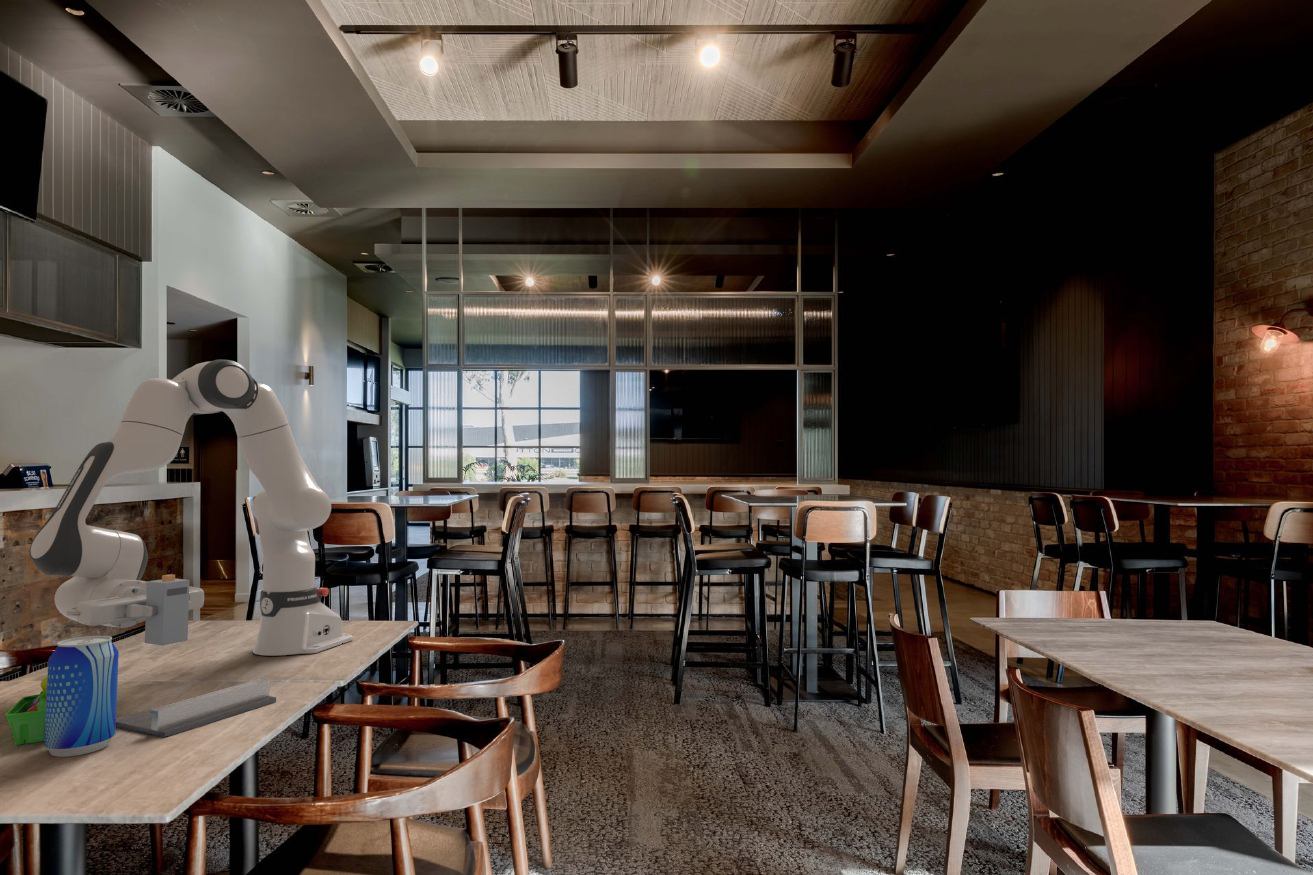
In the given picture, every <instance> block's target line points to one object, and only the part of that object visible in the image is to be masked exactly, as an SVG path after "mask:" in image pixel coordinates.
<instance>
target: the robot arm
mask: <svg viewBox="0 0 1313 875" xmlns="http://www.w3.org/2000/svg"><path fill="white" fill-rule="evenodd" d="M220 412H223V413H224V414H226V416H227V417H229V419H230V420H231V422H232V423H233V425H234V430H235V432H236V436H237V438H238V441H239V445H240V447H241V449H242V452H243V455H244V458H245V460H246V464H247V466H248V469H249V470H250V471H251V473H252V474H253V475H254V476H255V477H256V479H257V480H258V482H259V484H261V486H262V488H263V489H262V490H261V491H259V492H258V493H257V494H256V496H255V497H254V499H253V502H252V505H251V506H252V513H253V516H254V518H255V519H256V522H257V526H258V533H259V534H258V535H259V540H260V544H261V551H262V567H263V568H262V590H261V591H260V596H259V597H260V598H259V608H260V613H261V614H260V620H259V626H258V631H257V632H258V633H257V636H256V641H255V644H254V647H253V650H252V654H255V655H259V656H269V657H270V656H272V657H273V656H287V655H289V656H290V655H291V656H292V655H300V654H301V655H304V654H316V653H319V652H323V651H325V650H328V649H331V648H333V647H336V646H340V645H342V643H343V644H345V643H348V642H350V641H353V640H354V637H353V635H352V634H349V633H344V630H343V629H344V627H343V621H342V618H341V615H339V614H338V613H337V612H335V611H334V610H332V609H331V608H330V607H328V606H327V605H325V604H324V603H323V602H321V597H327V596H328V595H329V594H330V593H329V592H330V589H329V588H328V587H319V588H317V587H315V577H316V574H315V573H316V555H315V552H314V549H313V547H312V545H311V543H310V539H309V534H308V532H309V531H311V530H314V529H316V528H318V527H321V526H322V525H324V524H325V523H326V521H327V520H328V519H329V517H330V515H331V512H332V502H331V499H330V497H329V495H328V494H327V493H326V492H325V491H324V490H323V489H321V487H320V486H319V484H318V482H317V481H316V480H315V477H314V476H313V474H312V472H311V470H310V469H309V468H308V465H307V464H306V463H305V461H304V458H303V457H302V456H301V453H300V451H299V450H300V449H299V448H298V445H297V442H296V440H295V436H294V434H293V432H292V428H291V425H290V424H289V419H288V417H287V415H286V412H285V410H284V408H283V406H282V404H281V402H280V399H279V398H278V397H277V395H276V393H275V391H274V390H273V388H271V387H270V386H269V385H267V384H265V383H261V382H257V381H256V380H255V379H254V378H253V376H252V375H251V373H250V372H249V371H248V369H247V368H246V367H244V366H243V365H242V364H241V363H239V362H236V361H234V360H230V359H215V360H211V361H204V362H200V363H199V362H198V363H196V364H195V365H193V366H191V367H189V368H185V369H183V370H180V371H179V372H177V373H176V374H174V375H172V377H171V378H169V379H168V378H165V377H164V378H163V377H154V378H153V377H152V378H148V379H145V380H143V381H142V382H141V383H139V385H138V386H137V387H136V389H135V391H134V392H133V393H132V396H131V398H130V400H129V402H127V406H126V408H125V410H124V413H123V414H122V417H121V420H120V423H119V425H118V428H117V429H116V431H115V433H114V434H113V435H111V437H110V439H108V440H107V441H105V442H100V443H97V444H96V445H95V446H94V447H93V448H92V449H90V451H89V452H88V453H87V454H86V456H85V458H84V459H83V460H82V462H81V463H80V465H79V467H78V468H77V470H76V472H75V473H74V475H73V477H72V478H71V480H70V482H69V484H68V485H67V487H66V489H65V491H64V493H63V494H62V496H61V498H60V500H59V501H58V503H57V504H56V507H55V508H54V510H53V512H52V513H51V515H50V516H49V518H48V519H47V520H46V522H45V523H44V524H43V525H42V526H41V528H40V529H39V531H38V532H37V534H36V535H35V536H34V538H33V539H32V542H31V545H30V547H29V556H30V559H31V561H32V563H33V565H34V566H35V567H36V569H38V570H39V571H40V572H41V573H42V574H44V575H45V576H64V577H69V576H71V578H70V579H68V580H66V581H64V582H63V583H62V584H60V586H59V587H58V588H57V590H56V591H55V594H54V604H55V607H56V609H57V610H58V611H59V613H60V614H62V616H64V617H66V618H67V619H69V620H72V621H75V622H77V623H79V624H82V625H87V626H105V627H112V628H113V627H114V628H121V629H124V628H126V629H127V628H129V627H133V626H135V625H137V624H141V623H142V622H146V617H150V616H156V615H157V614H158V611H157V610H158V606H157V605H148V606H147V605H146V595H147V581H145V580H141V579H142V577H143V575H144V573H145V572H146V569H147V565H148V561H149V560H148V559H149V553H148V550H147V546H146V544H145V542H144V540H143V538H142V537H141V536H140V535H138V534H136V533H131V532H127V531H122V530H116V529H108V528H103V527H99V526H92V525H88V524H87V523H86V519H87V517H88V515H89V513H90V512H91V510H92V508H93V507H94V504H95V502H96V501H97V498H98V497H99V495H100V493H101V491H102V490H103V489H104V487H105V485H106V484H107V483H108V482H109V481H110V480H112V479H113V478H115V477H118V476H121V475H128V474H137V473H146V472H147V473H148V472H152V471H157V470H159V469H161V468H163V467H165V466H167V465H168V464H170V463H171V462H172V461H174V459H175V457H176V456H177V454H178V452H179V449H180V446H181V443H182V440H183V436H184V433H185V430H186V425H187V423H188V421H189V419H190V418H191V416H201V415H205V414H206V415H207V414H215V413H220ZM204 602H205V592H204V589H203V588H201V587H196V586H191V585H189V611H191V610H197V609H201V608H203V607H204V604H205V603H204Z"/></svg>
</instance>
